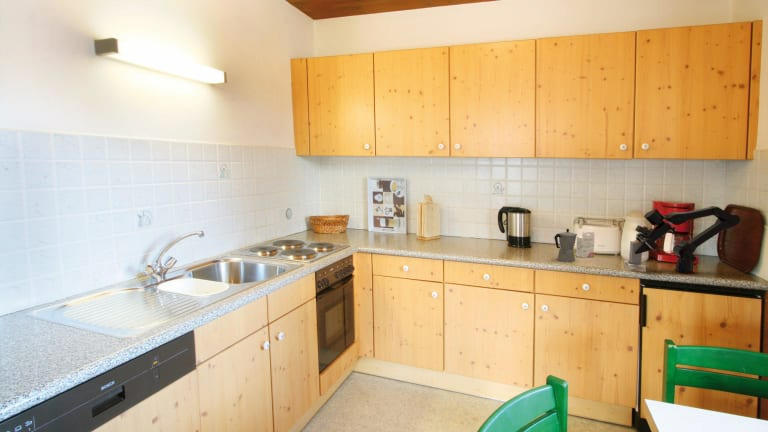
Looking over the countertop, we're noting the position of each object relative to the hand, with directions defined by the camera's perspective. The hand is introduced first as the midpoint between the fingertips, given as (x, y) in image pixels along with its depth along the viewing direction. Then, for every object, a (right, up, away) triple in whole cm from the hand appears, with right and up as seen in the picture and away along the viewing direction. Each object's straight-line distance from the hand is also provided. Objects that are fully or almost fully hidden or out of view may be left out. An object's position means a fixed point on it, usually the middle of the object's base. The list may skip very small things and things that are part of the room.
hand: (632, 251), depth 232 cm
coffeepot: (-27, -7, +20) cm, 35 cm away
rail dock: (+1, -9, +1) cm, 9 cm away
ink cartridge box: (-12, -5, +30) cm, 33 cm away
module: (+1, -8, +1) cm, 8 cm away
